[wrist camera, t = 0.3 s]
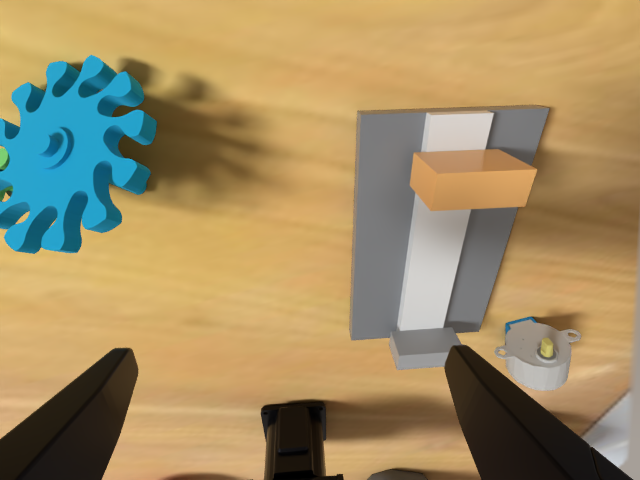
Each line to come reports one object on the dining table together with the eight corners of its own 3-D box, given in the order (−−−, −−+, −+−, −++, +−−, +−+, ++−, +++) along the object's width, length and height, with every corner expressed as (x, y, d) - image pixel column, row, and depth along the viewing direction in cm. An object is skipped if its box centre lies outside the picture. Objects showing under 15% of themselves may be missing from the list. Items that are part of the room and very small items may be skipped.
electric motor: (558, 296, 29) (605, 341, 24) (554, 333, 31) (596, 380, 27) (478, 317, 29) (510, 364, 25) (481, 352, 32) (510, 400, 27)
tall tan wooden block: (489, 181, 20) (525, 206, 17) (409, 185, 20) (430, 211, 17) (498, 148, 19) (537, 169, 16) (413, 152, 19) (437, 173, 16)
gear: (130, 17, 15) (137, 224, 13) (204, 95, 21) (218, 248, 19) (-46, 88, 17) (-67, 275, 15) (63, 141, 23) (60, 283, 21)
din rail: (472, 321, 29) (499, 362, 26) (349, 329, 29) (358, 372, 25) (536, 105, 20) (592, 119, 16) (357, 110, 20) (372, 127, 16)
